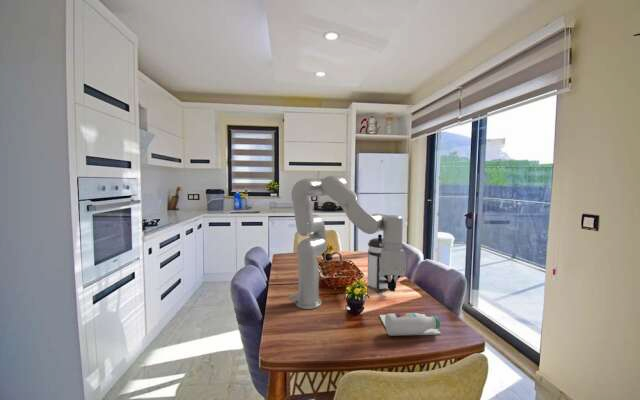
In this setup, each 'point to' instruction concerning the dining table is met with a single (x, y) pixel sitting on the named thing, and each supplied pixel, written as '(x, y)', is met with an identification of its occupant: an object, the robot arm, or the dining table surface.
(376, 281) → the coffee press
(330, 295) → the dining table surface
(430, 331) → the mat
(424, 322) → the milk bottle
